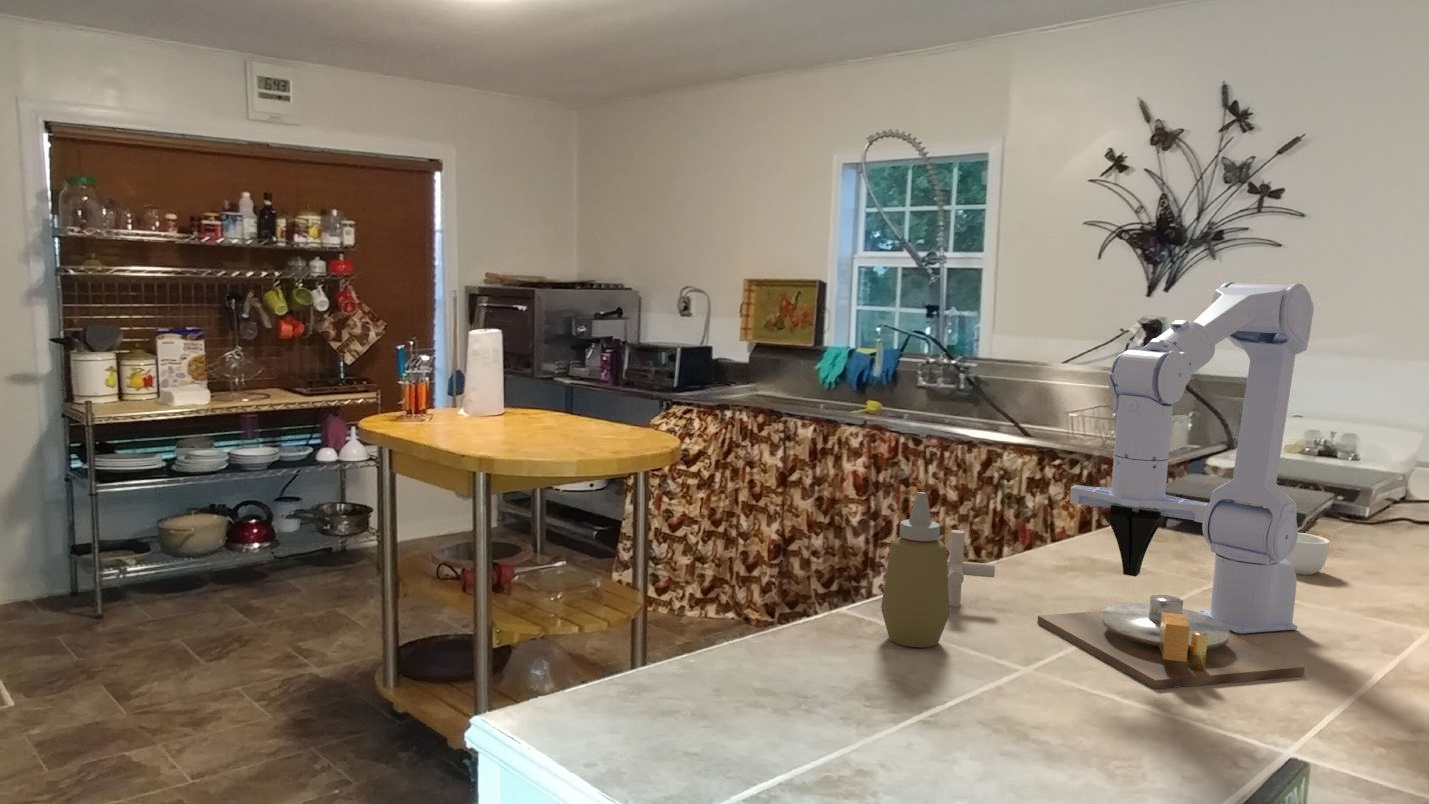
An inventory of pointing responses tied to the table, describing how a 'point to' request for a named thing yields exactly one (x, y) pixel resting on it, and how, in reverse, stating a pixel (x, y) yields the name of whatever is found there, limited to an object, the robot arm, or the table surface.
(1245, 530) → the robot arm
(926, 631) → the squeeze bottle
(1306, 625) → the table surface
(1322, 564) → the teacup
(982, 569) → the pipe connector
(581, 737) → the table surface
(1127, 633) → the disc with block handle
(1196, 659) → the dowel
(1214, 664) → the flat brown board
